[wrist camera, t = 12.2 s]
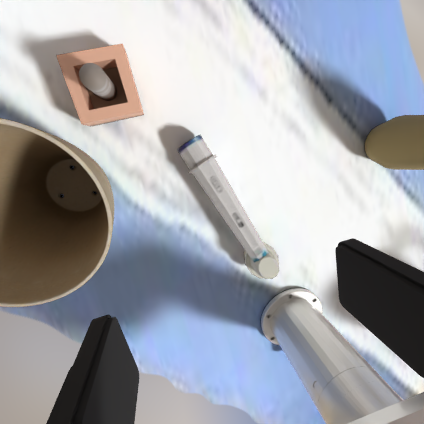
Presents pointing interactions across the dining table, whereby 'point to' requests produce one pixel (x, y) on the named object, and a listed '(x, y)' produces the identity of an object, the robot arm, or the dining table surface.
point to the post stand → (103, 86)
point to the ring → (78, 91)
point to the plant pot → (49, 216)
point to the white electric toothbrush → (229, 207)
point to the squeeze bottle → (398, 143)
